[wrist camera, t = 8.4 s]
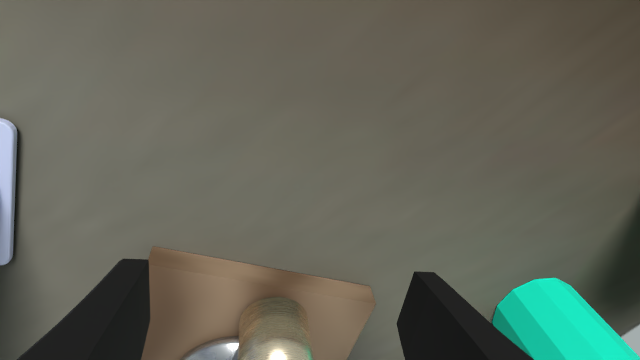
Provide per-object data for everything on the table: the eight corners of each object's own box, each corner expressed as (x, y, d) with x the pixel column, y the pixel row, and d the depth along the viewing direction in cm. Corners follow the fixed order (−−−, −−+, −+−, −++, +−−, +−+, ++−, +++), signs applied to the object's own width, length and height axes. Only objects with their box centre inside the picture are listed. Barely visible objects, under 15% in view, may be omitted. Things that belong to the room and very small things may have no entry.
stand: (120, 399, 27) (112, 424, 26) (152, 246, 22) (145, 266, 21) (304, 415, 31) (306, 437, 29) (369, 286, 26) (376, 306, 24)
